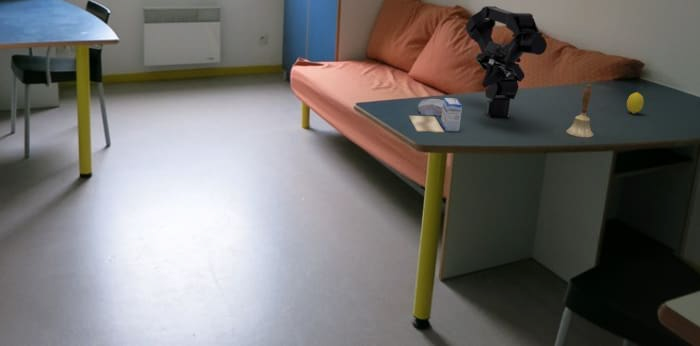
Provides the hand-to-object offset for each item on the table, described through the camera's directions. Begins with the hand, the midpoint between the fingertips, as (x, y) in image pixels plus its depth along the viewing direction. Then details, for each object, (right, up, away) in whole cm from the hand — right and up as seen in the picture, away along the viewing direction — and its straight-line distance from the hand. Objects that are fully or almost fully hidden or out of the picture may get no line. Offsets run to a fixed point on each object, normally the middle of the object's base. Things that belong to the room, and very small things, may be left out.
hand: (482, 86), depth 231 cm
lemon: (+60, -6, +32) cm, 68 cm away
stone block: (-14, -7, +17) cm, 23 cm away
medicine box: (-11, -13, -1) cm, 17 cm away
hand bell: (+31, -15, +2) cm, 35 cm away
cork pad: (-18, -12, +1) cm, 22 cm away
